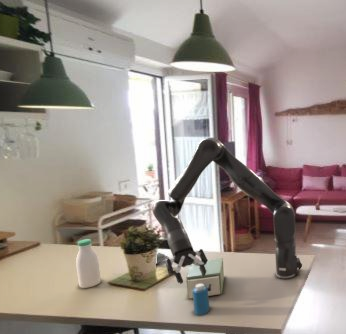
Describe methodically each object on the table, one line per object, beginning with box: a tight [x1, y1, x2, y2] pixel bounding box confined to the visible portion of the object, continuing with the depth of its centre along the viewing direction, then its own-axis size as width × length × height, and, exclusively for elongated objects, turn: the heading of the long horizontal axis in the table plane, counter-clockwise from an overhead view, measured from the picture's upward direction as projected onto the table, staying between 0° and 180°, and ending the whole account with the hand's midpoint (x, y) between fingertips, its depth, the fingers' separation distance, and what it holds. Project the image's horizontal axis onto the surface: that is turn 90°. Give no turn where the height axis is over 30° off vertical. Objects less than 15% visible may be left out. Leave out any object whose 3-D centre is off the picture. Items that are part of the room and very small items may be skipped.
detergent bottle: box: [192, 283, 210, 316], centre depth 125 cm, size 5×5×10 cm
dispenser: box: [185, 257, 225, 300], centre depth 142 cm, size 15×13×9 cm
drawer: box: [186, 275, 221, 300], centre depth 138 cm, size 18×12×7 cm, turn 16°
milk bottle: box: [75, 238, 102, 289], centre depth 145 cm, size 8×8×20 cm
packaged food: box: [156, 251, 170, 265], centre depth 167 cm, size 9×12×5 cm
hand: (193, 278), depth 128 cm, fingers open, 8 cm apart
